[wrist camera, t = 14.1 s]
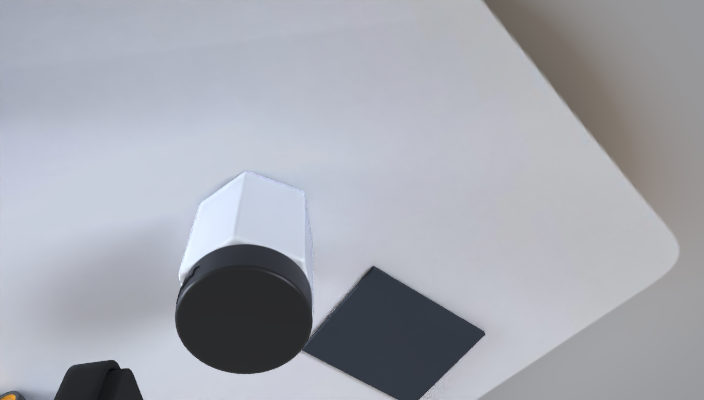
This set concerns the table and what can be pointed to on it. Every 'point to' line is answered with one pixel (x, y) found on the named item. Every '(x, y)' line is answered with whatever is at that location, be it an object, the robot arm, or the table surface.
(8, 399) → the toy car
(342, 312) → the coaster mat
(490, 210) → the table surface
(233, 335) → the jar
